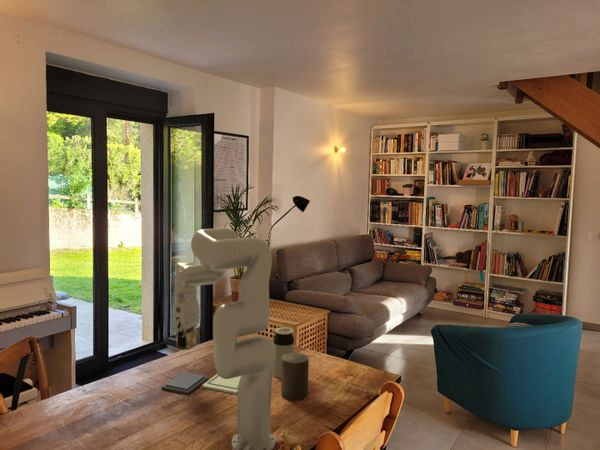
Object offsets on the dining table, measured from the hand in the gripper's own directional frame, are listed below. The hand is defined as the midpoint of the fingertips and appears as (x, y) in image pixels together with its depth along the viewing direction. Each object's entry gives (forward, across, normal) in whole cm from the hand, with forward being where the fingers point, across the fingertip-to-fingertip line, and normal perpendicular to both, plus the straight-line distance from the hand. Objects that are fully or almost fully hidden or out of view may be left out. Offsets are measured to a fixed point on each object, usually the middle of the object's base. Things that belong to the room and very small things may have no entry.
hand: (186, 344), depth 170 cm
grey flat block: (+15, 0, +1) cm, 15 cm away
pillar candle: (+16, +8, -39) cm, 43 cm away
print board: (+16, +8, -13) cm, 22 cm away
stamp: (+1, 0, 0) cm, 1 cm away
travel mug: (+16, +22, -29) cm, 40 cm away
